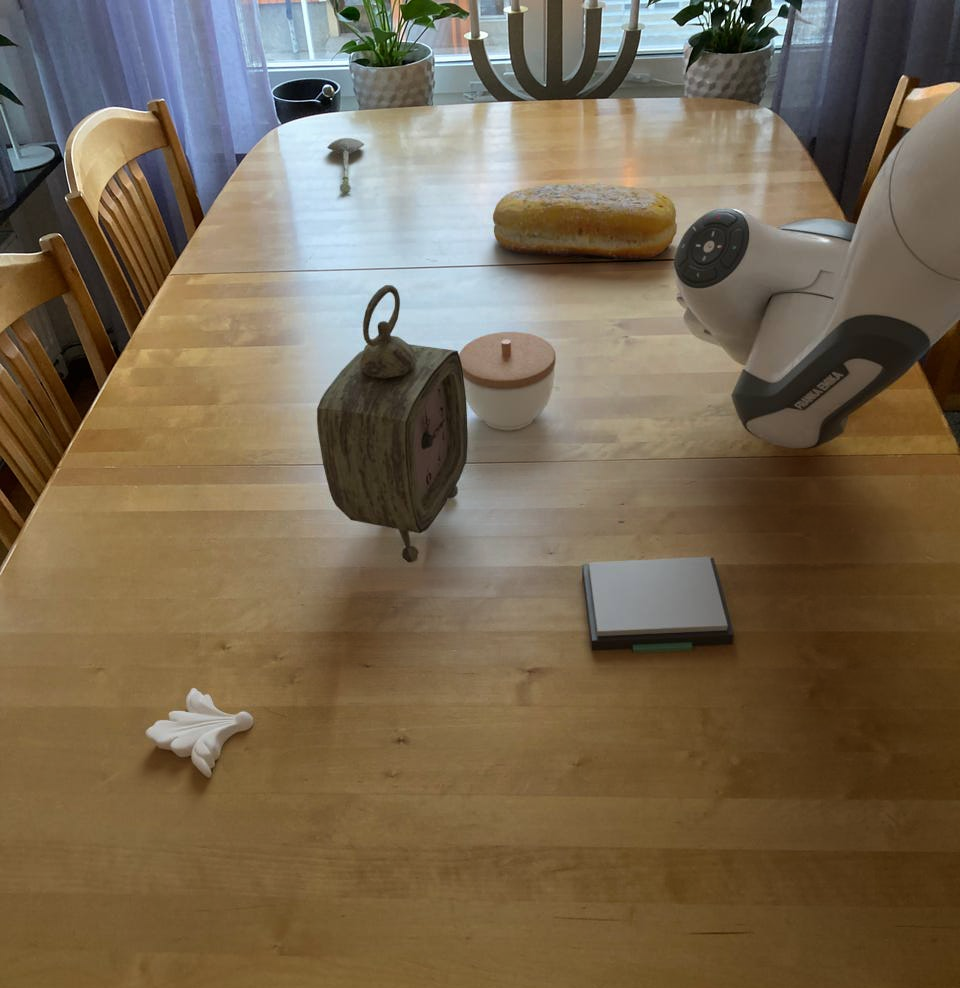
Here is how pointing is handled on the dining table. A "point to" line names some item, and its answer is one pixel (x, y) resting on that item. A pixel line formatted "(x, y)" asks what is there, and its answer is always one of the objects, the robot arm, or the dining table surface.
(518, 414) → the trinket box
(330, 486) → the tabletop clock
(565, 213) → the bread
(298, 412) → the dining table surface
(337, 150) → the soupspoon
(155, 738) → the acanthus leaf ornament
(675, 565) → the scale
